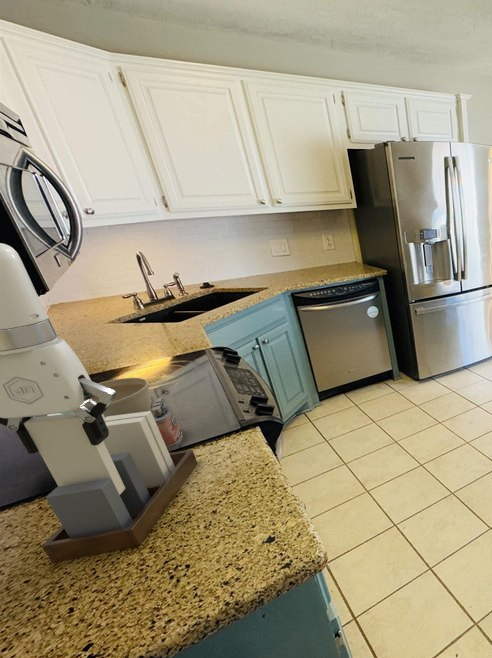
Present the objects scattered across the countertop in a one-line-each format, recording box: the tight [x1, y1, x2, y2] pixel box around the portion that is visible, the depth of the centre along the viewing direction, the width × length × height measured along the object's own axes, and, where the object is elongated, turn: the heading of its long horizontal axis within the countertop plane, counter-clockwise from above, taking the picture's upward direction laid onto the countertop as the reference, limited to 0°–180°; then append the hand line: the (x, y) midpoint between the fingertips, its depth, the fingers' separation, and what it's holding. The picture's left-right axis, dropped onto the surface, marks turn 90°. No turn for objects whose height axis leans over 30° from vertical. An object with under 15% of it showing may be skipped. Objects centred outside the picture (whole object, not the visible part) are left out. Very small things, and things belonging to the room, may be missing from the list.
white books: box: [103, 410, 175, 487], centre depth 78 cm, size 7×4×15 cm, turn 106°
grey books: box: [45, 452, 151, 538], centre depth 68 cm, size 7×9×12 cm
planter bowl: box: [91, 377, 152, 418], centre depth 96 cm, size 16×16×11 cm
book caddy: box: [41, 449, 199, 564], centre depth 74 cm, size 12×23×4 cm, turn 16°
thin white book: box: [24, 413, 125, 495], centre depth 64 cm, size 7×2×15 cm, turn 106°
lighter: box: [151, 397, 184, 450], centre depth 93 cm, size 8×3×10 cm, turn 30°
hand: (70, 443), depth 63 cm, fingers closed on thin white book, 7 cm apart
